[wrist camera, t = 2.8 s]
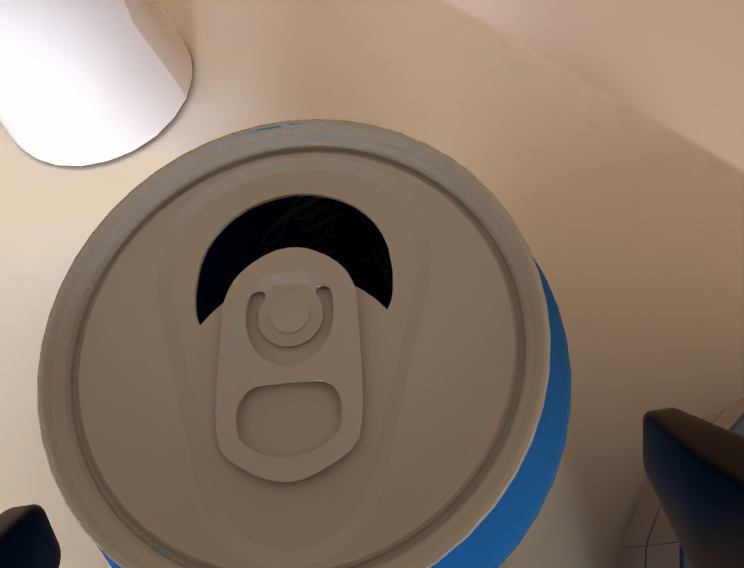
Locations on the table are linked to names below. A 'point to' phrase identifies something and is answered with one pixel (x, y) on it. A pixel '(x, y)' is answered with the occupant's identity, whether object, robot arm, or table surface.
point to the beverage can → (305, 361)
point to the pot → (662, 516)
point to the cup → (88, 76)
